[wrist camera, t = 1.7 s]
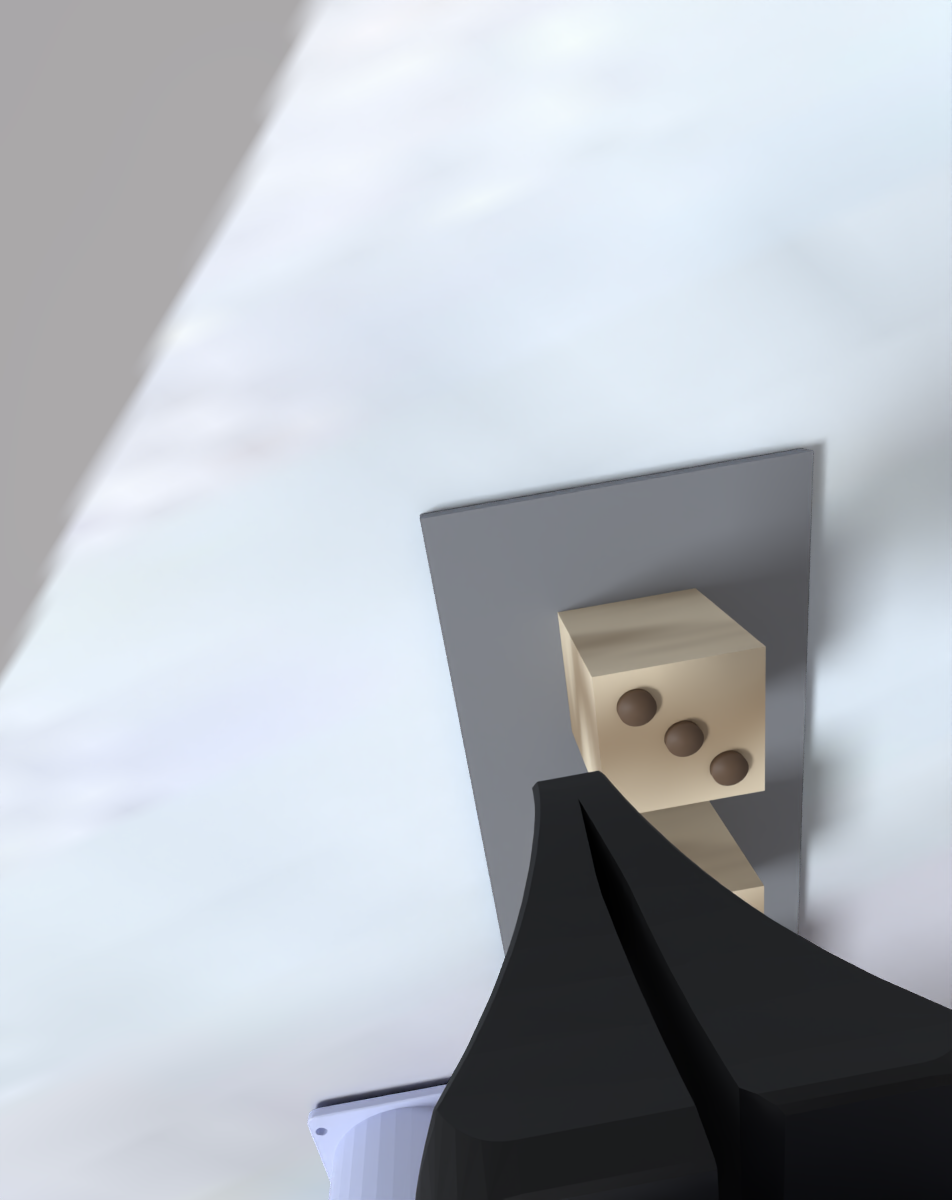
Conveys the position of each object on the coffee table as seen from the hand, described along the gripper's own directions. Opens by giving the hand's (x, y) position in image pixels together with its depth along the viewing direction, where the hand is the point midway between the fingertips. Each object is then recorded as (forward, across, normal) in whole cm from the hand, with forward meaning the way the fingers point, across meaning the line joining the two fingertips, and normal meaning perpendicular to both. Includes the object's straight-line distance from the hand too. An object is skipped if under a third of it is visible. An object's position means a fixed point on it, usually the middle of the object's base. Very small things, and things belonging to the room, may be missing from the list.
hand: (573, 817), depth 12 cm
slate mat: (+9, -4, +10) cm, 14 cm away
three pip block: (+9, -4, +2) cm, 10 cm away
